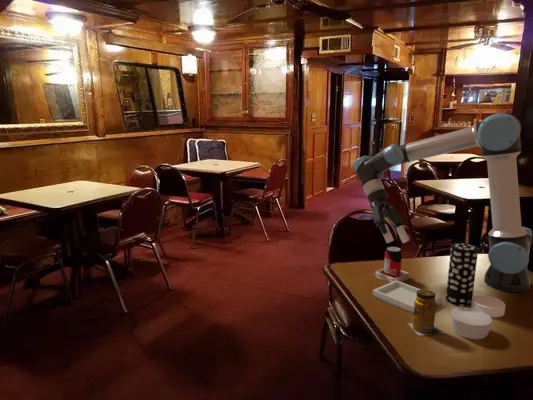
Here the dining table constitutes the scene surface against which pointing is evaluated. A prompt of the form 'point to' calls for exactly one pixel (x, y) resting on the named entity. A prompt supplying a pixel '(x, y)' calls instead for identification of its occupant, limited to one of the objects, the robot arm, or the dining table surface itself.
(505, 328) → the dining table surface
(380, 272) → the collar
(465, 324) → the ramekin
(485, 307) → the shallow round dish
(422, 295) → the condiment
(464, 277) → the spotted tube
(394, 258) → the beverage can
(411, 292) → the tray
